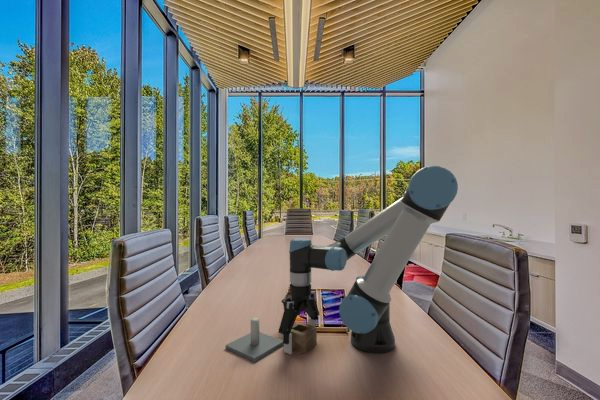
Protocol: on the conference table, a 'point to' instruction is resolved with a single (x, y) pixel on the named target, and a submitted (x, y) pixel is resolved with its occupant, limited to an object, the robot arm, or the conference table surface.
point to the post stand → (254, 343)
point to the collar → (303, 337)
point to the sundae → (287, 299)
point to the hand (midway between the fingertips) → (300, 344)
